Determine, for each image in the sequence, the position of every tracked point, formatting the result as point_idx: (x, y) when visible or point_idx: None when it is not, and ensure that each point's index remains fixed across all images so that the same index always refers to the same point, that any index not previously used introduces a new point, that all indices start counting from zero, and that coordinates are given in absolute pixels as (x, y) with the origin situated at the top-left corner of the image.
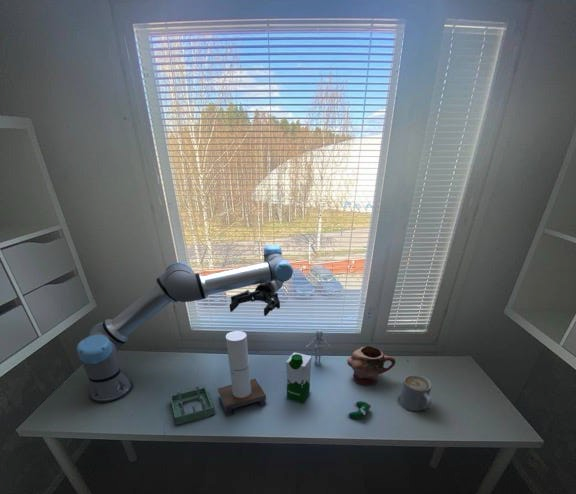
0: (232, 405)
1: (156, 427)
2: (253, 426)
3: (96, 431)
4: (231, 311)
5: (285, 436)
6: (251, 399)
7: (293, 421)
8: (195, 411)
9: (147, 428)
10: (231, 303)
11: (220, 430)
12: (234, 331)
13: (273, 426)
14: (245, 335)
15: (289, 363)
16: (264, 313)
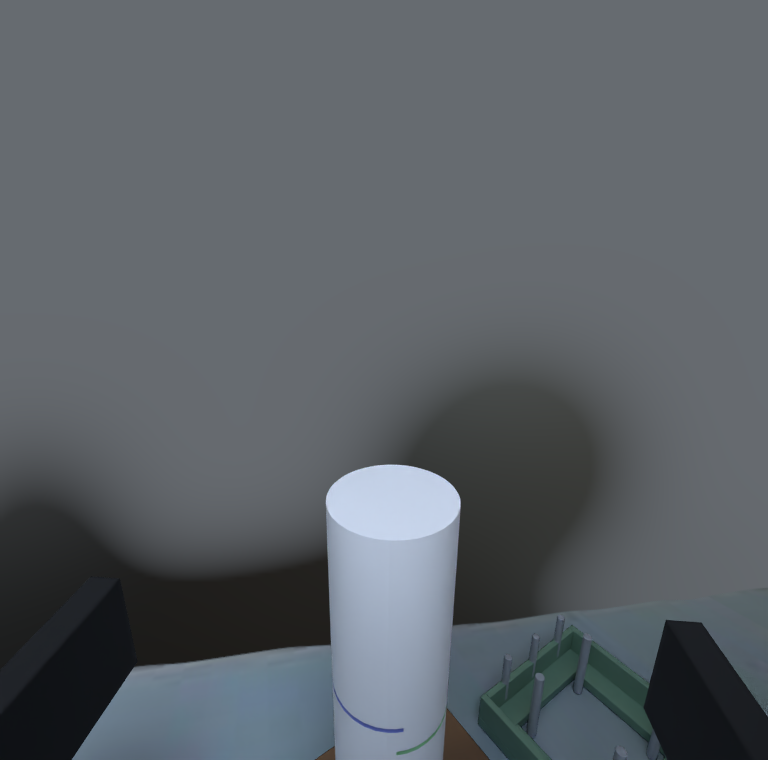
0: None
1: (617, 631)
2: (307, 688)
3: (752, 593)
4: (654, 707)
5: (193, 663)
6: (325, 752)
7: (142, 744)
8: (530, 663)
9: (637, 623)
10: (734, 682)
11: None
12: (426, 530)
13: (231, 701)
14: (332, 505)
15: None
16: (124, 632)
